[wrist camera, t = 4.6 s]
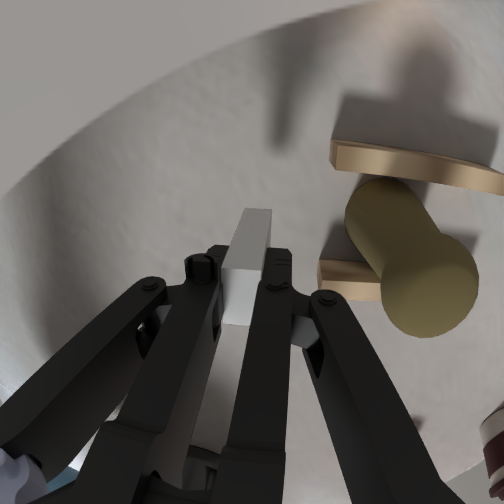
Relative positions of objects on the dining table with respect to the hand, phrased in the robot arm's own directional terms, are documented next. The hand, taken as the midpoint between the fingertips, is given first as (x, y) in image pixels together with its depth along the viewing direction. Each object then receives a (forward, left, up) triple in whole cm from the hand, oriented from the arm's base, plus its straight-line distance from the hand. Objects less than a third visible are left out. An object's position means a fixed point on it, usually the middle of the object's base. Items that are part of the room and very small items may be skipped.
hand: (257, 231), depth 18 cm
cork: (+9, 0, -5) cm, 10 cm away
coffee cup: (+40, -31, -5) cm, 51 cm away
